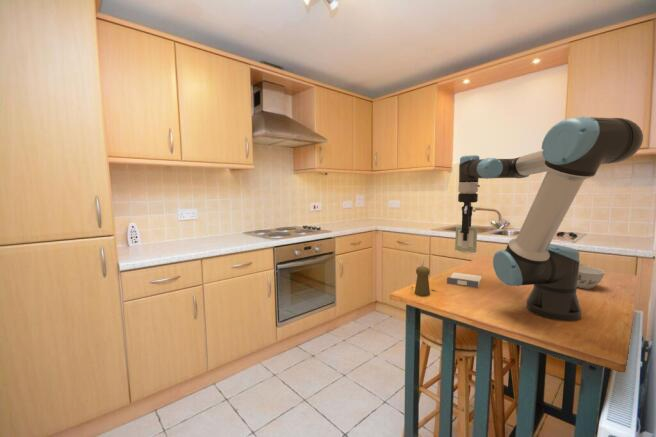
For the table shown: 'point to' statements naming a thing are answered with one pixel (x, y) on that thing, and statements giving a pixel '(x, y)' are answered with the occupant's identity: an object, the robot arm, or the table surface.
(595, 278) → the teacup
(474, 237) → the tea tin
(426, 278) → the olive tapered upright piece
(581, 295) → the table surface
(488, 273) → the table surface
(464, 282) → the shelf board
